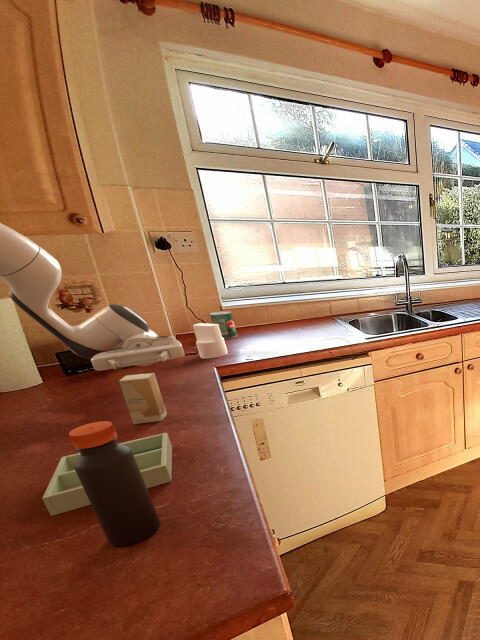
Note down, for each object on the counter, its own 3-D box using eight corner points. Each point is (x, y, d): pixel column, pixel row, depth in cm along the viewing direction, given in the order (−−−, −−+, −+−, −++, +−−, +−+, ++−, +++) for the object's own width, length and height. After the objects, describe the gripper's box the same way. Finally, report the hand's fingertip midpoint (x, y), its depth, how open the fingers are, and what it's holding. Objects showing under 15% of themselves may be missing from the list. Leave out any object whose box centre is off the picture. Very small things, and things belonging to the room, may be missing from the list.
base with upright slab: (233, 351, 167) (225, 322, 163) (214, 359, 159) (205, 328, 155) (213, 350, 169) (205, 321, 164) (194, 357, 161) (184, 327, 156)
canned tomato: (215, 337, 189) (208, 312, 185) (235, 333, 194) (229, 310, 190) (218, 340, 183) (211, 315, 179) (239, 337, 188) (233, 312, 184)
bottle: (142, 546, 68) (95, 438, 61) (97, 549, 68) (45, 440, 60) (170, 518, 75) (131, 417, 67) (129, 521, 74) (85, 419, 67)
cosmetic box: (133, 425, 109) (116, 381, 104) (140, 418, 112) (124, 375, 108) (163, 420, 111) (148, 377, 106) (169, 414, 115) (154, 372, 110)
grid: (50, 516, 76) (41, 498, 74) (69, 472, 89) (61, 456, 87) (171, 481, 85) (165, 465, 84) (172, 446, 98) (166, 432, 97)
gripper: (90, 347, 119) (83, 359, 109) (179, 334, 131) (180, 344, 120) (99, 368, 122) (92, 382, 112) (186, 354, 133) (187, 365, 123)
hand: (138, 362), depth 116 cm, fingers open, 8 cm apart
